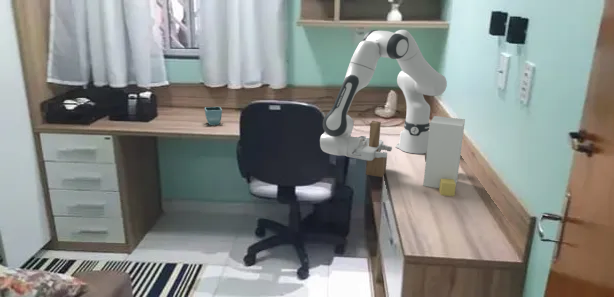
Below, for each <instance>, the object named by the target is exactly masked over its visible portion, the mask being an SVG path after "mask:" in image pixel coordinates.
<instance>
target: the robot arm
mask: <svg viewBox="0 0 614 297" xmlns="http://www.w3.org/2000/svg"><path fill="white" fill-rule="evenodd" d="M380 58H386V59H391V60H396V62H397V64H398V66H399V68H400V69H401V70H400V71H399V73H398V74H397V78H396V83H397V86H398V87H399V89H400V90H401V91H402V94H403V96H404V99H405V103H406V104H405V105H406V116H405V120H404V123H403V125H404V127H403V129H402V131H400V134H399V142H398V143H397V144H395V148H396V149H399V150H401V151H402V152H406V153H408V154H409V153H411V154H416V155H417V154H422V155H423V154H426V152H427V147H428V137H429V128H430V117H431V116H430V114H431V106H430V104H429V103H428V102H427V101H426V99H425V97H424V96H430V97H432V96H433V97H436V96H437V97H439V96H441V95H443V94H444V92H445V91H446V89H447V87H448V84H447V83H448V81H447V78H446V77H445V75H442V74H441V73H439V71H437V70H435V68H433V67H432V66H431V64H430V63H428V61H427V60H426V59H425V57H424V55H423V53H422V52H421V49H420V47H419V45H418V43H417V42H416V40H415V37H414V36H413V35H412V33H410V32H409V31H408V30H406V29H399V30H396V31H394V32H393V31H389V30H378V29H371V30H369V31H367V32H366V33H365V34H364V36H363V38H362V41H360V42H359V43H358V45H357V46H356V49H355V50H354V52H353V55H352V56H351V58H350V62H349V63H348V64H349V65H348V67H347V70H346V73H345V76H344V80H343V81H342V84H341V87H340V89H339V91H338V93H337V97H336V98H335V101H334V103H333V105H332V106H331V109H330V110H329V111H328V112H327V114H326V115H325V116H324V118H323V120H322V128H323V131H324V132H323V133H322V134H321V135H320V138H319V147H320V149H321V150H322V152H324V153H326V154H328V155H329V154H330V155H332V156H333V155H334V156H346V157H347V158H354V159H358V160H363V161H367V160H368V161H372V160H373V159H374V158H375V157H376V158H379V157H384V158H386V157H387V158H388V152H392V150H393V147H392V146H390V145H386V144H384V141H383V140H382V139H379V146H378V147H370V146H369V137H367V136H366V135H360V136H353V135H352V132H353V130H354V123H355V122H354V120H353V118H352V117H351V116H350V115H349V114H348V112H349V110H350V107H351V105H352V102H353V100H354V98H355V96H356V94H357V93H358V92H359V91H361V90H362V89H364V88H365V87H367V86H368V85H369V84H370V82H371V80H372V79H373V76H374V74H375V71H376V68H377V65H378V61H379V59H380ZM378 148H379V151H378V152H376V150H377V149H378ZM381 151H382V152H381ZM384 151H385V152H384ZM386 151H387V152H386Z"/></svg>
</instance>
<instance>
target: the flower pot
mask: <svg viewBox="0 0 614 297" xmlns="http://www.w3.org/2000/svg"><path fill="white" fill-rule="evenodd" d="M222 112H223V109H222V107H221V106H211V107H210V106H209V107H208V106H206V107H204V114H205V118H206V121H207V123H208V124H209V126H218V125H220V123H221V120H222V114H223V113H222Z"/></svg>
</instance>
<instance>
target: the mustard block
mask: <svg viewBox="0 0 614 297" xmlns="http://www.w3.org/2000/svg"><path fill="white" fill-rule="evenodd" d="M456 186H457V183H455V181H454V179H440V187H439V188H438V191H439V193H440V194H439V195H440V196H445V197H447V196H448V197H449V196H450V197H455V195H456Z"/></svg>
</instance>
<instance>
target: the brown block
mask: <svg viewBox="0 0 614 297" xmlns="http://www.w3.org/2000/svg"><path fill="white" fill-rule="evenodd" d="M380 134H381V121H377V120H376V121H375V120H371V122H370V126H369V136H368V138H369V146H370V147H378V146H379V140H380V136H381V135H380ZM378 151H379V148H378V149H377V150H376V152H378ZM387 162H388V156H387V157H386V158H384V157H379V158H376V157H375V158H374V159H373V160H372V161H368V160H366V166H365V167H366V169H365V175H367V176H373V177H380V178H383V177H384V175H385V174H386V172H387Z"/></svg>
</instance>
